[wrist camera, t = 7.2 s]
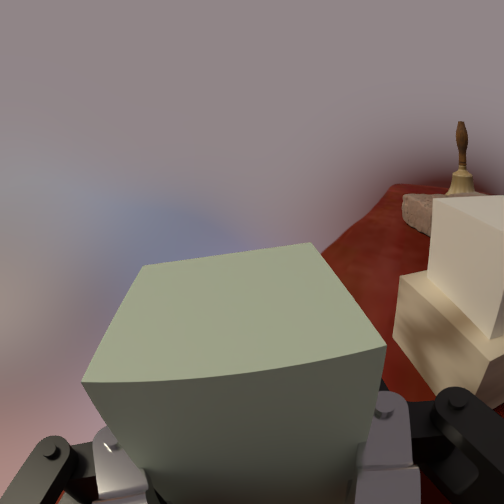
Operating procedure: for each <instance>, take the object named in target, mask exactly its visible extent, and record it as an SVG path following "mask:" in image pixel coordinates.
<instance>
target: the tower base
mask: <svg viewBox="0 0 504 504" xmlns="http://www.w3.org/2000/svg"><path fill="white" fill-rule="evenodd" d="M392 337H393V338H394V340H395V341H396V342H397V344H398V345H399V346H400V347H401V349H402V350H403V351H404V353H405V354H406V355H407V357H408V358H409V359H410V361H411V362H412V363H413V365H414V366H415V368H416V369H417V370H418V372H419V373H420V374H421V376H422V377H423V378H424V380H425V381H426V383H427V384H428V385H429V387H430V388H431V389H432V391H433V392H434V394H435V395H436V396H437V395H438V393H439V392H440V391H442V390H443V389H445V388H448V387H454V386H455V387H462V388H465V389H467V390H469V391H470V392H472V393H473V394H474V395H475V396H476V397H478V398H479V399H480V400H481V401H483V402H484V403H485V404H486V405H487V406H489V407H490V408H491V409H494V408H496V407H497V406H499V405H500V404H502V403H504V335H501V336H499V337H496V338H493V339H491V340H489V339H488V338H487V337H486V336H485V335H484V334H483V332H482V331H481V330H480V329H479V328H478V327H477V326H476V325H475V324H474V323H473V322H472V321H471V320H470V319H469V318H468V317H467V316H466V315H465V314H464V313H463V312H462V311H461V310H460V309H459V308H458V307H457V306H456V305H455V304H454V303H453V302H452V301H451V300H450V299H449V298H448V297H447V296H446V295H445V294H444V293H443V292H442V291H441V290H440V289H439V288H438V287H437V286H436V285H435V284H434V283H433V282H431V281H430V280H429V279H428V278H427V271H422V272H417V273H412V274H408V275H403V276H400V281H399V291H398V300H397V308H396V315H395V323H394V329H393V336H392Z"/></svg>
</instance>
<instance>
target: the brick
mask: <svg viewBox="0 0 504 504" xmlns="http://www.w3.org/2000/svg"><path fill="white" fill-rule="evenodd" d="M471 196H489V195H485V194H481V193H478V192H471V193H455V194H450V195H442V194H433V195H426V194H405V195H404V196H403V203H402V216H403V219H404V220H405V221H406V223H408V225H410V226H411V227H414V228H416V229H417V230H418V231H419V232H423V233H424V234H426V235H428V236H430V237H431V227H432V208H433V198H450V197H471Z"/></svg>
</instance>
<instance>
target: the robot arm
mask: <svg viewBox="0 0 504 504" xmlns="http://www.w3.org/2000/svg"><path fill="white" fill-rule="evenodd" d="M414 464H416V465H414ZM419 468H420V469H421V470H422V471H423V473H424V474H425V475H426V476H427V477H428V478H429V479H430V480H431V481H432V482H433V484H434V485H435V486H436V487H437V488H438V489H439V490H440V491H441V492H442V494H443V495H444V496H445V497H446V498H447V499H448V500H449V501H450V502H451V503H452V504H504V419H503V418H502V417H501V416H499V415H498V414H497V413H496V412H495V411H493V410H492V409H491V408H490V407H489V406H487V405H486V404H485V403H484V402H483V401H481V400H480V399H479V398H478V397H476V396H475V395H474V394H473V393H472V392H470V391H469V390H467V389H465V388H462V387H455V386H454V387H448V388H445V389H443V390H442V391H440V392H439V393H438V395H437V396H436V398H435V401H423V402H408V401H405V399H404V398H403V397H402V396H400V395H399V394H397V393H394V392H390V391H389V390H388V388H387V386H386V385H385V383H384V381H383V379H382V378H381V382H380V387H379V392H378V397H377V401H376V406H375V410H374V415H373V419H372V423H371V427H370V431H369V435H368V439H367V441H365V442H361V443H358V446H357V450H356V454H355V465H354V474H353V479H351V480H348V483H347V487H346V494H345V501H344V504H421V484H420V470H419ZM63 490H64V491H65V493H64V495H63V497H62V498H61V500H60V502H59V504H173V503H172V502H171V501H165V500H164V499H163V498H162V497H161V496H160V494H159V493H158V492H157V491H156V490H155V489H154V487H153V484H152V481H151V477H150V476H149V474H148V473H147V472H146V471H145V469H144V468H138V467H137V466H136V465H135V464H134V463H133V461H132V460H131V459H130V457H129V456H128V455H127V453H126V452H125V451H124V449H123V448H122V446H121V445H120V444H119V442H118V441H117V439H116V438H115V436H114V435H113V433H112V432H111V430H110V429H109V427H108V426H106V427H104V428H102V429H101V430H100V431H98V433H97V434H96V435H95V437H94V439H93V441H92V442H88V443H82V444H77V445H72V446H70V445H69V443H68V442H67V441H66V440H65V439H64V438H62V437H60V436H49V437H46V438H44V439H43V440H41V441H40V442H39V443H38V444H37V445H36V447H35V448H34V450H33V451H32V452H31V454H30V455H29V457H28V458H27V460H26V461H25V463H24V464H23V466H22V467H21V469H20V470H19V471H18V473H17V474H16V476H15V477H14V479H13V480H12V482H11V483H10V485H9V486H8V488H7V490H6V491H5V493H4V494H3V496H2V497H1V499H0V504H55V503H56V501H57V499H58V498H59V496H60V494H61V493H62V491H63Z"/></svg>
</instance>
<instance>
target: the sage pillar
mask: <svg viewBox="0 0 504 504" xmlns="http://www.w3.org/2000/svg"><path fill="white" fill-rule="evenodd" d="M386 348H387V345H386V343H385V342H384V340H383V339H382V337H381V336H380V335H379V333H378V332H377V330H376V329H375V328H374V326H373V325H372V323H371V322H370V321H369V319H368V318H367V316H366V315H365V314H364V312H363V311H362V309H361V308H360V307H359V305H358V304H357V303H356V301H355V300H354V299H353V297H352V296H351V294H350V293H349V292H348V290H347V289H346V288H345V286H344V285H343V284H342V282H341V281H340V280H339V278H338V277H337V276H336V274H335V273H334V272H333V270H332V269H331V268H330V266H329V265H328V264H327V263H326V261H325V260H324V259H323V257H322V256H321V255H320V253H319V252H318V251H317V250H316V248H315V247H314V246H313V244H312V243H311V242H310V243H302V244H296V245H288V246H281V247H274V248H267V249H260V250H252V251H245V252H238V253H231V254H224V255H218V256H210V257H203V258H196V259H189V260H181V261H174V262H167V263H160V264H153V265H146V266H143V267H142V268H141V270H140V272H139V274H138V275H137V277H136V279H135V281H134V282H133V284H132V286H131V287H130V289H129V291H128V293H127V294H126V296H125V298H124V300H123V302H122V303H121V305H120V307H119V309H118V311H117V312H116V314H115V316H114V318H113V320H112V322H111V324H110V326H109V327H108V329H107V331H106V333H105V335H104V337H103V339H102V341H101V343H100V345H99V346H98V349H97V350H96V353H95V354H94V356H93V358H92V360H91V362H90V364H89V366H88V368H87V370H86V373H85V375H84V377H83V379H82V381H81V383H82V385H83V387H84V388H85V390H86V392H87V394H88V395H89V397H90V399H91V400H92V402H93V404H94V405H95V407H96V409H97V410H98V412H99V413H100V415H101V417H102V418H103V420H104V421H105V423H106V424H107V426H108V427H109V429H110V430H111V432H112V433H113V435H114V436H115V438H116V439H117V441H118V442H119V444H120V445H121V446H122V448H123V449H124V451H125V452H126V453H127V455H128V456H129V457H130V459H131V460H132V461H133V463H134V464H135V465H136V466H137V467H138V468H144V469H145V471H146V472H147V473H148V474H149V476H150V477H151V481H152V484H153V487H154V489H155V490H156V491H157V492H158V493H159V494H160V496H161V497H162V498H163V499H164V500H165V501H171V502H172V503H173V504H344V501H345V494H346V487H347V483H348V480H351V479H353V474H354V465H355V454H356V450H357V446H358V443H361V442H365V441H367V439H368V435H369V431H370V427H371V423H372V419H373V415H374V410H375V406H376V401H377V397H378V392H379V387H380V382H381V377H382V371H383V366H384V360H385V354H386Z"/></svg>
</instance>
